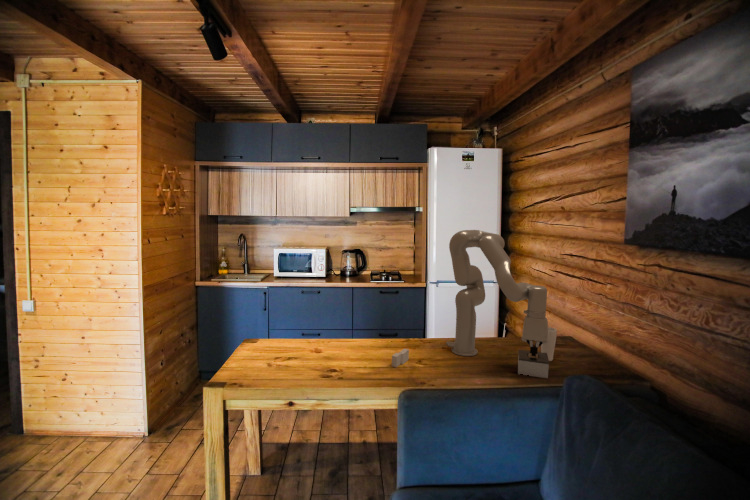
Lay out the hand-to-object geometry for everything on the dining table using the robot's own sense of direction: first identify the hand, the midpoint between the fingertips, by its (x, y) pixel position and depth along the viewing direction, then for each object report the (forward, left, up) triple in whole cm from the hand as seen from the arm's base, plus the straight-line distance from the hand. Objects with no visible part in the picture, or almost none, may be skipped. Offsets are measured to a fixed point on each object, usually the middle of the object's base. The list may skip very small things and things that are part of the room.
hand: (533, 355), depth 184 cm
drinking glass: (+7, +18, -8) cm, 21 cm away
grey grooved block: (-57, -13, -8) cm, 59 cm away
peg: (0, 0, -6) cm, 6 cm away
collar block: (0, 0, -7) cm, 7 cm away
